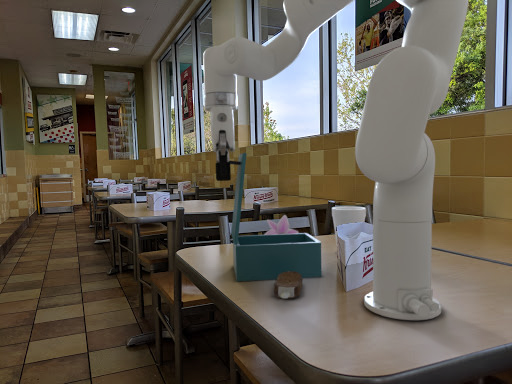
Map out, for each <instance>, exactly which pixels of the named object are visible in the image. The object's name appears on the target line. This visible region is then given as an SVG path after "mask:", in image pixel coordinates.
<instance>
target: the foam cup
mask: <svg viewBox="0 0 512 384" xmlns="http://www.w3.org/2000/svg"><path fill="white" fill-rule="evenodd" d="M331 217H332V221H333V229H334V235H335V243H336V245H337V231H336V227H337V226H338V225H341V224H347V223H355V222H364V223H365V221H366V218H367V208H366V207H363V206H355V205H354V206H347V205H346V206H333V207H331Z"/></svg>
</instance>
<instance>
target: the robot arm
mask: <svg viewBox="0 0 512 384" xmlns="http://www.w3.org/2000/svg"><path fill="white" fill-rule="evenodd" d="M353 2H355V0H283V3H282V4H283V5H282V6H283V12H284V15H285V16H286V22H285V25H284V28H283V29H282V30H281V32H280V33H279V35H278V36H276V37H275V38H274V39H273V40H272V41H270V42H269V43H268V44H266V45H263V44H260V43H258V42H255V41H254V40H251V39H248V38H246V37H244V36H235V37H231V38H229V39H228V40H226V41H224V42H223V43H221V44H220V45H214V46H209V47H207V48H206V49H205V50H204V52H203V55H202V59H203V61H202V62H203V87H204V88H203V90H204V91H203V93H204V97H203V98H204V99H203V101H204V111H206V112H209V118H210V119H209V120H210V121H209V122H210V136H211V137H210V138H211V145H212V151H213V152H214V153H215V155H216V156H215V157H216V159H215V161H216V163H215V179H216V181H217V182H225V181H227V182H228V181H231V179H232V177H231V176H232V175H231V172H232V171H231V164H230V163H229V161H230V153H234V151H235V150H236V142H235V141H236V140H235V115H234V112H235V111H237V110H238V83H237V82H238V79H237V76H240V77H245V78H249V79H251V80H255V81H260V82H264V81H267V80H270V79H272V78H274V77H276V76H277V75H279V74H280V73H281V72H283V71H284V70H285V69H287V68H288V67H289V66H291V65H292V64H293V63H294V62H296V60H297V59H298V57H300V54H301V53H302V51H303V50H304V48H305V46H306V45H307V43H308V40H309V37H310V36H311V35H312V34H313V33H314V32H316V31H317V30H318V29H320V27H322V26H323V25H324V24H325V23H327V22H329V21H330V20H331V19H332V18H334V17H335V16H336V15H338V14H339V13H340V12H341V11H343V10H344V9H345V8H347V7H348V6H349V5H351V4H352V3H353ZM395 2H397V3H398V4H400V5H402V6H404V7H406V8H407V9H408V10H409V11H410V18H409V19H408V22H407V24H406V27H405V29H404V32H403V38H402V43H401V46H400V47H397V48H394V49H393V50H391V51H390V52H388V53H387V54H386V55H384V56H383V57H382V58H381V60H380V61H379V62H378V64H377V65H376V66H375V68H374V70H373V72H372V74H371V77H370V80H369V83H368V86H367V87H368V88H367V91H366V96H365V100H364V104H363V109H362V114H361V117H360V122H359V126H358V130H357V135H356V140H355V148H354V157H355V162H356V164H357V167H358V169H359V170H360V172H361V173H362V174H363V175H364V176H365V177H366V178H368V179H369V180H371V181H373V182H375V183H374V190H373V199H372V201H373V202H372V291H370V292H368V293H367V294H365V296H364V298H363V304H364V306H365V307H366V308H367V310H369V311H370V312H372V313H374V314H376V315H380V316H382V317H384V318H385V317H386V318H389V319H395V320H401V321H427V320H431V319H435V318H438V317H439V316H440V315H441V313H442V308H443V307H442V303H441V302H440V301H439V300H438V299H436V298H435V297H433V288H432V261H433V260H432V257H433V256H432V255H433V254H432V253H433V252H432V251H433V249H432V248H433V245H432V243H433V241H432V240H433V239H432V238H433V197H434V196H433V195H434V194H433V193H434V181H435V170H436V151H435V148H434V144H433V142H432V140H431V138H430V137H429V136H428V134H427V133H426V128H427V124H428V121H429V117H430V116H431V115H432V114H433V113H435V112H437V111H438V110H439V108H441V106H442V105H443V104H444V102H445V100H446V98H447V95H448V92H449V88H450V83H451V79H452V75H453V70H454V67H455V63H456V59H457V55H458V51H459V47H460V43H461V38H462V34H463V30H464V26H465V22H466V18H467V13H468V8H469V0H395Z"/></svg>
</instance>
